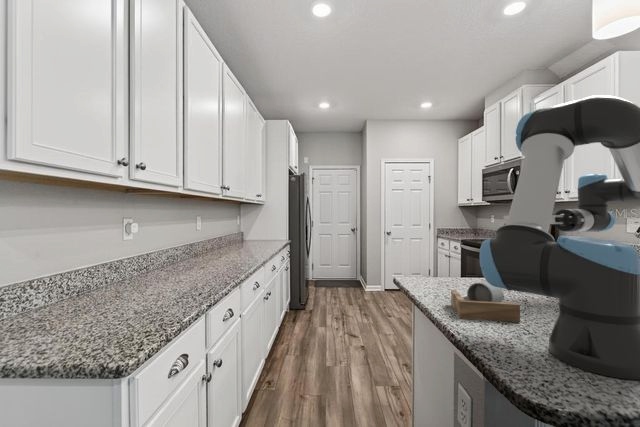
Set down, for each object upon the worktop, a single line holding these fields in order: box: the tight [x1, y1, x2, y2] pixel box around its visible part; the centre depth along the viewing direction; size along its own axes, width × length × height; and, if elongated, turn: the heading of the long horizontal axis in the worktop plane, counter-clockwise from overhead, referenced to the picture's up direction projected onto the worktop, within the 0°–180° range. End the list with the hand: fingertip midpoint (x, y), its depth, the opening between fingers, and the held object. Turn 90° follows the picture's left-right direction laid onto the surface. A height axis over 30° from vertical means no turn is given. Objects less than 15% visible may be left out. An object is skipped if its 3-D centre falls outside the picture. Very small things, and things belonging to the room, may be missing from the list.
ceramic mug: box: [462, 281, 504, 302], centre depth 92 cm, size 11×8×8 cm
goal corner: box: [450, 289, 521, 323], centre depth 88 cm, size 16×15×4 cm
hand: (523, 219), depth 94 cm, fingers open, 13 cm apart
